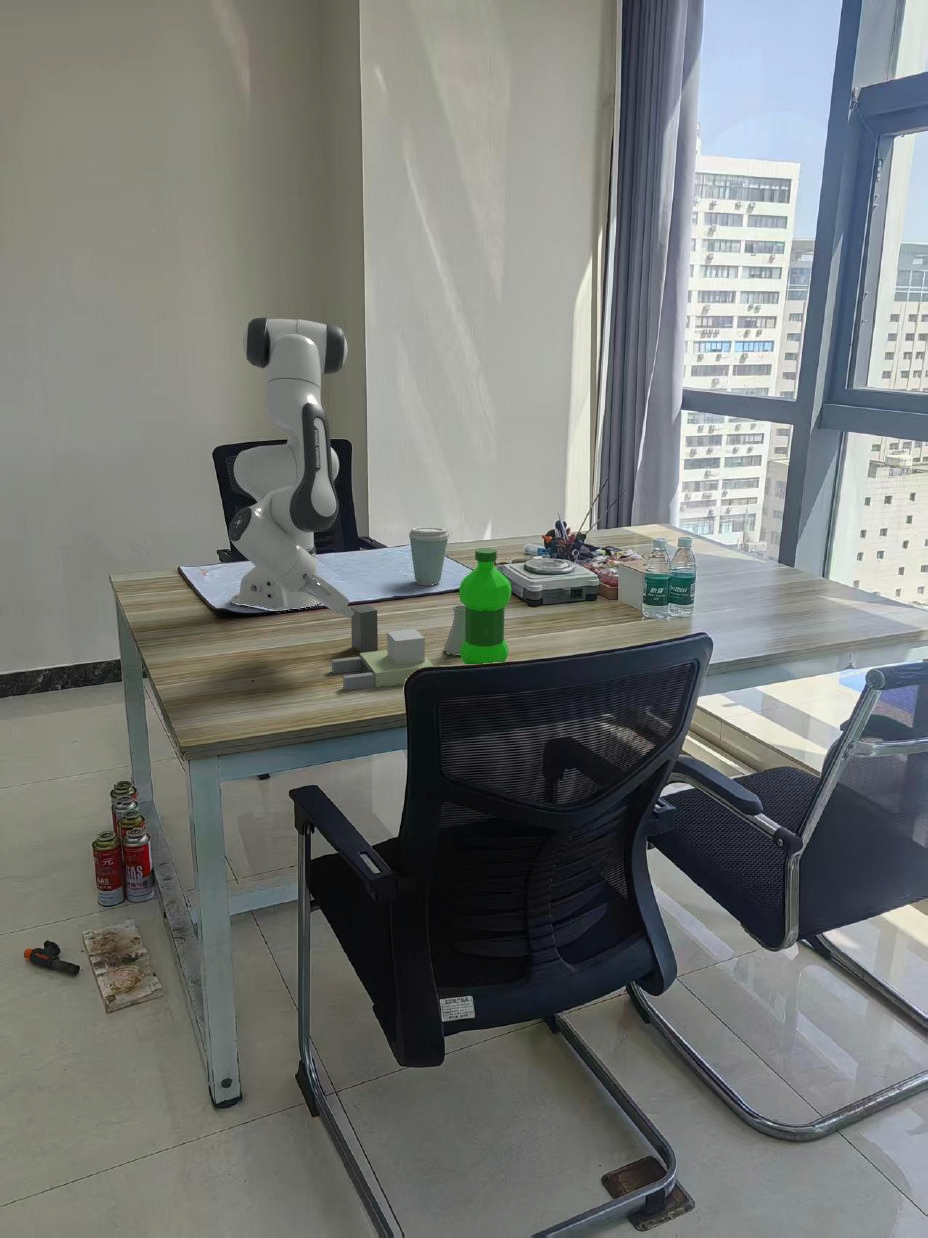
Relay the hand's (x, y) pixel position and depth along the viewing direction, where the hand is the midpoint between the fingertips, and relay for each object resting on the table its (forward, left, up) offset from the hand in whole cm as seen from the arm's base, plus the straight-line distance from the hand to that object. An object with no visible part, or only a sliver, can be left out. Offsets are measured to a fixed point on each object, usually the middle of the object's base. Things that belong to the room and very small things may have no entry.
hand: (341, 609), depth 207 cm
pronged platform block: (+14, -9, -10) cm, 19 cm away
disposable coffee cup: (-1, +58, -10) cm, 59 cm away
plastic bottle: (+31, 0, -10) cm, 33 cm away
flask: (+23, +9, -10) cm, 27 cm away
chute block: (+3, +4, -10) cm, 11 cm away
